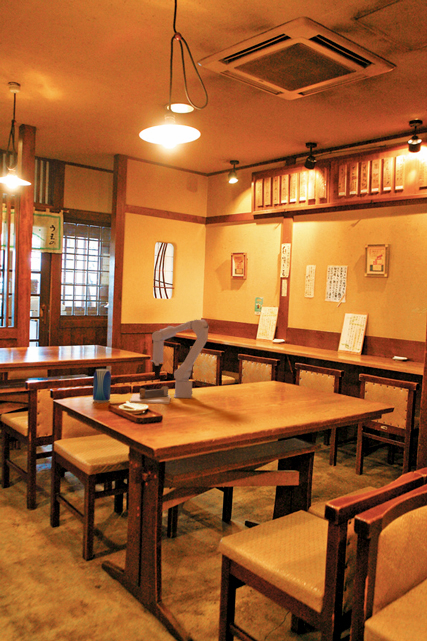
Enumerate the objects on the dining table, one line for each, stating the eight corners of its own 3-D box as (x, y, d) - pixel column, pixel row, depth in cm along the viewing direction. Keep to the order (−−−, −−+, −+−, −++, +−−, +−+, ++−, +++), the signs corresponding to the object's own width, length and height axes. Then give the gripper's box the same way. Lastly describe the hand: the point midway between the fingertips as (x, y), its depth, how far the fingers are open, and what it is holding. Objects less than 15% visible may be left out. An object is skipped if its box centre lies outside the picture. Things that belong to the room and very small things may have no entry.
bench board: (170, 396, 272) (170, 394, 272) (169, 403, 254) (169, 401, 254) (133, 395, 271) (133, 393, 271) (129, 402, 253) (129, 400, 253)
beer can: (107, 403, 248) (109, 371, 248) (90, 402, 248) (92, 370, 248) (111, 400, 257) (112, 369, 256) (95, 399, 257) (96, 368, 256)
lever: (165, 394, 271) (165, 386, 270) (169, 395, 268) (169, 387, 268) (138, 397, 259) (138, 388, 259) (141, 398, 257) (142, 389, 257)
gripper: (151, 350, 286) (150, 374, 286) (149, 353, 271) (148, 378, 272) (164, 351, 286) (163, 375, 287) (163, 354, 272) (162, 379, 272)
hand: (157, 376), depth 279 cm, fingers closed
